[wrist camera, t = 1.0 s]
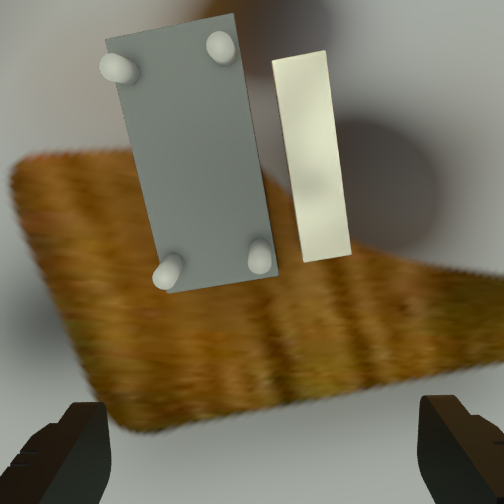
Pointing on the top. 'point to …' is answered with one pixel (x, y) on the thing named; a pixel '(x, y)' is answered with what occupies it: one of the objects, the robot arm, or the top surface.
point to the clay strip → (312, 155)
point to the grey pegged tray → (194, 152)
